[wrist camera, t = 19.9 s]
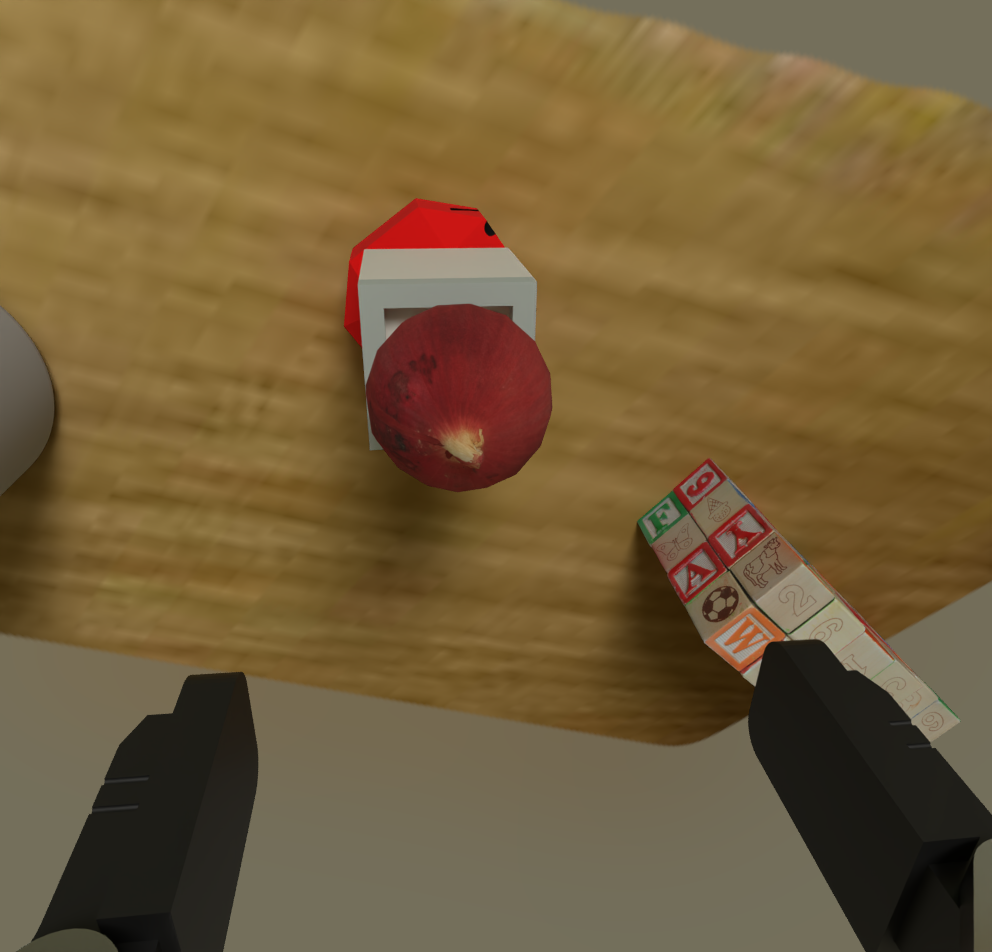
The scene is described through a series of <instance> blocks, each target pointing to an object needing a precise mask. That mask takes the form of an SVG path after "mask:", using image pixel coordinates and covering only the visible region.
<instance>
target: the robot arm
mask: <svg viewBox="0 0 992 952" xmlns="http://www.w3.org/2000/svg"><path fill="white" fill-rule="evenodd" d="M748 719H749V720H748V726H749V734H750V739H751V743H752V746H753V749H754V751H755V754H756V756H757V758H758V759H759V761H760V763H761V765H762V766H763V768H764V770H765V772H766V774H767V775H768V777H769V779H770V781H771V783H772V785H773V786H774V788H775V790H776V792H777V793H778V795H779V797H780V799H781V801H782V802H783V804H784V806H785V808H786V809H787V811H788V813H789V815H790V817H791V819H792V820H793V822H794V824H795V826H796V828H797V829H798V831H799V833H800V835H801V836H802V838H803V840H804V842H805V844H806V846H807V847H808V849H809V851H810V853H811V854H812V856H813V858H814V859H815V861H816V864H817V865H818V867H819V869H820V871H821V872H822V874H823V876H824V878H825V880H826V881H827V883H828V885H829V887H830V889H831V890H832V892H833V894H834V896H835V897H836V899H837V901H838V903H839V905H840V906H841V908H842V910H843V912H844V914H845V916H846V917H847V919H848V921H849V923H850V925H851V926H852V928H853V930H854V932H855V934H856V935H857V937H858V939H859V941H860V942H861V944H862V946H863V948H864V950H865V951H866V952H992V815H991V814H990V812H989V811H988V810H987V809H986V808H985V806H984V805H983V804H982V803H981V802H980V800H979V799H978V798H977V797H976V796H975V794H974V793H973V792H972V791H971V790H970V789H969V787H968V786H967V785H966V784H965V783H964V781H963V780H962V779H961V778H960V777H959V776H958V774H957V773H956V772H955V771H954V770H953V768H952V767H951V766H950V765H949V764H948V762H947V761H946V760H945V759H944V758H943V757H942V755H941V754H940V753H939V752H938V751H937V749H936V748H932V747H931V745H930V741H929V740H928V739H927V738H926V736H925V735H924V734H923V733H922V732H921V730H920V729H919V728H918V727H917V726H916V725H912V723H911V719H910V717H909V716H908V715H907V714H906V713H905V711H904V710H903V709H902V708H901V707H900V706H899V704H898V703H897V702H896V701H895V700H894V698H893V697H892V696H891V695H890V694H889V693H888V692H887V691H886V690H884V689H883V688H881V687H880V686H879V685H877V684H876V683H874V682H873V681H871V680H870V679H869V678H867V677H866V676H864V675H863V674H861V673H860V672H859V671H857V670H848V671H847V670H846V668H845V667H844V666H843V665H842V663H841V662H840V661H839V660H838V658H837V657H836V656H835V655H834V654H833V652H832V651H831V650H830V649H829V647H828V646H827V645H826V644H825V643H824V642H822V641H821V640H819V639H806V640H790V641H773V642H770V643H769V644H768V645H767V646H766V648H765V650H764V653H763V657H762V661H761V665H760V669H759V673H758V678H757V682H756V686H755V690H754V694H753V698H752V702H751V707H750V711H749V718H748ZM257 779H258V748H257V742H256V736H255V729H254V724H253V718H252V711H251V705H250V699H249V693H248V687H247V681H246V677H245V675H244V673H243V672H233V673H216V674H200V675H190V676H188V677H187V678H186V680H185V682H184V684H183V687H182V690H181V693H180V695H179V698H178V700H177V703H176V706H175V709H174V711H173V713H172V714H158V715H147V716H146V717H145V718H144V720H143V721H141V723H140V724H139V725H138V726H137V727H136V728H135V729H134V730H133V731H132V732H131V733H130V734H129V735H128V736H127V737H126V738H125V739H124V741H123V742H122V743H121V744H120V745H119V747H118V749H117V751H116V754H115V756H114V758H113V761H112V763H111V765H110V768H109V770H108V772H107V774H106V777H105V783H104V785H102V786H101V788H100V791H99V793H98V795H97V797H96V800H95V802H94V804H93V806H92V814H89V815H88V818H87V820H86V822H85V825H84V827H83V829H82V831H81V834H80V836H79V839H78V841H77V843H76V845H75V847H74V850H73V852H72V854H71V857H70V859H69V861H68V863H67V866H66V868H65V870H64V873H63V875H62V877H61V879H60V882H59V884H58V886H57V889H56V891H55V893H54V895H53V898H52V900H51V902H50V905H49V907H48V909H47V911H46V914H45V916H44V918H43V921H42V923H41V925H40V927H39V929H38V931H37V933H36V935H35V936H34V938H33V939H32V941H31V943H29V944H27V945H25V946H24V947H22V948H21V949H19V950H18V951H16V952H223V949H224V944H225V939H226V934H227V929H228V925H229V920H230V915H231V910H232V906H233V901H234V896H235V891H236V886H237V881H238V877H239V871H240V867H241V862H242V857H243V852H244V847H245V843H246V837H247V833H248V828H249V823H250V818H251V814H252V809H253V804H254V799H255V794H256V787H257Z"/></svg>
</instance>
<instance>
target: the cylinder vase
mask: <svg viewBox="0 0 992 952" xmlns="http://www.w3.org/2000/svg"><path fill="white" fill-rule="evenodd" d="M53 420H54V394H53V388H52V383H51V380H50V376H49V373H48V370H47V368H46V365H45V363H44V361H43V359H42V357H41V355H40V353H39V351H38V349H37V348H36V346H35V344H34V343H33V341H32V340H31V338H30V337H29V336H28V334H27V333H26V332H25V330H24V329H23V328H22V327H21V326H20V324H19V323H18V322H17V321H16V320H15V319H14V318H13V317H12V316H11V315H10V314H9V313H8V312H7V311H6V310H5V309H4V308H2V307H1V306H0V496H1V495H2V494H3V493H4V492H5V491H6V490H7V489H8V488H9V487H10V486H11V485H12V484H13V483H14V482H15V481H16V480H17V479H18V478H19V477H20V476H21V475H22V474H23V473H24V472H25V471H26V470H27V469H28V468H29V467H30V466H31V465H32V464H33V463H34V462H35V461H36V459H37V458H38V457H39V455H40V454H41V452H42V451H43V449H44V447H45V445H46V443H47V441H48V439H49V436H50V433H51V430H52V425H53Z"/></svg>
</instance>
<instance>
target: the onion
mask: <svg viewBox="0 0 992 952" xmlns="http://www.w3.org/2000/svg"><path fill="white" fill-rule="evenodd" d="M366 399H367V406H368V412H369V419H370V425H371V431H372V434H373V436H374V437H375V439H376V440H377V442H378V443H379V444H380V446H381V447H382V448H383V449H384V451H385V452H386V453H387V454H388V456H389V457H390V458H391V460H392V461H393V462H394V463H395V465H396V466H397V467H398V468H400V469H401V470H403V471H404V472H406V473H408V474H409V475H411V476H413V477H414V478H416V479H417V480H419V481H421V482H422V483H424V484H426V485H428V486H431V487H436V488H440V489H445V490H450V491H454V492H461V491H468V490H475V489H481V488H487V487H489V486H491V485H494V484H496V483H498V482H500V481H502V480H505V479H507V478H509V477H511V476H514V475H516V474H517V473H518V472H519V470H520V469H521V468H522V467H523V466H524V465H525V464H526V462H527V461H528V460H529V459H530V458H531V457H532V455H533V454H534V453H535V452H536V451H537V450H538V448H539V447H540V446H541V443H542V440H543V437H544V434H545V431H546V428H547V425H548V422H549V419H550V416H551V411H552V395H551V378H550V372H549V370H548V368H547V366H546V364H545V362H544V360H543V357H542V355H541V353H540V351H539V349H538V347H537V345H536V343H535V341H534V340H533V339H532V338H531V337H530V336H529V335H528V334H527V333H525V332H524V331H523V330H522V329H521V328H520V327H519V326H518V325H517V324H515V323H514V322H513V321H512V320H511V319H510V318H509V317H508V316H507V315H504V314H501V313H498V312H495V311H492V310H489V309H485V308H482V307H479V306H476V305H473V304H451V305H437V306H434V307H432V308H430V309H428V310H426V311H423V312H421V313H419V314H417V315H415V316H412V317H410V318H408V319H406V320H405V321H404V322H402V323H401V324H400V325H399V326H398V328H397V329H396V330H395V331H394V332H393V333H392V334H391V335H390V336H389V338H388V339H387V340H386V341H385V342H384V343H383V344H382V345H381V346H380V348H379V349H378V350H377V352H376V355H375V358H374V361H373V364H372V367H371V371H370V374H369V377H368V380H367V383H366Z"/></svg>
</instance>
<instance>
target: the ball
mask: <svg viewBox="0 0 992 952" xmlns="http://www.w3.org/2000/svg"><path fill="white" fill-rule="evenodd" d="M436 248H505V247H504V246H503V244H502V243H501V241H500V240H499V238H498V237H497V235H496V234H495V232H494V231H493V230H492V228H491V227H490V225H489V224H488V222H487V221H486V219H485V218H484V217H483V215H482V214H481V213H480V212H479V211H478V209H477V208H471V207H465V206H459V205H453V204H447V203H441V202H435V201H429V200H423V199H417V198H416V199H414V200H413V201H412V202H411V203H409V204H408V205H407V206H405V207H404V208H403V209H402V210H400V211H399V212H398V213H397V214H395V215H394V216H393V217H392V218H390V219H389V220H388V221H387V222H385V223H384V224H383V225H381V226H380V227H379V228H378V229H376V230H375V231H374V232H373V233H371V234H370V235H369V236H368V237H366V238H365V239H364V240H363V241H361V242H360V243H359V244H358V245H356V246H355V247H354V248H353V250H352V253H351V257H350V260H349V270H348V282H347V295H346V307H345V320H344V327H345V328H346V330H347V331H348V332H349V333H350V334H351V335H352V337H353V338H354V339H355V340H356V341H357V343H358V344H359V345H360V346H361V347H362V336H361V323H360V309H359V296H358V280H359V275H360V269H361V264H362V259H363V253H364V249H436Z"/></svg>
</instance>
